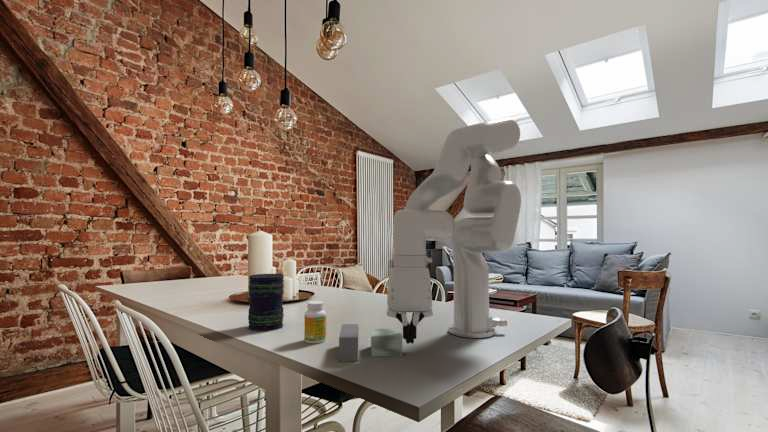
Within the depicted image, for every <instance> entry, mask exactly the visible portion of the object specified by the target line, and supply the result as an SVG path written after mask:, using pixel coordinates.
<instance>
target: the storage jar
mask: <svg viewBox="0 0 768 432" xmlns="http://www.w3.org/2000/svg"><path fill="white" fill-rule="evenodd" d="M248 278H249V281H248V297H249V309H248V316H247V320H248V328H247V329H248V330H249V331H252V332H271V331H276V330H277V331H278V330H279V329H283V327H284V323H283V322H284V307H283V299H284V297H283V295H284V292H285V291H284V288H285V283H284V278H285V275H284V274H283V273H257V274H251V275H249V277H248Z"/></svg>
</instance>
